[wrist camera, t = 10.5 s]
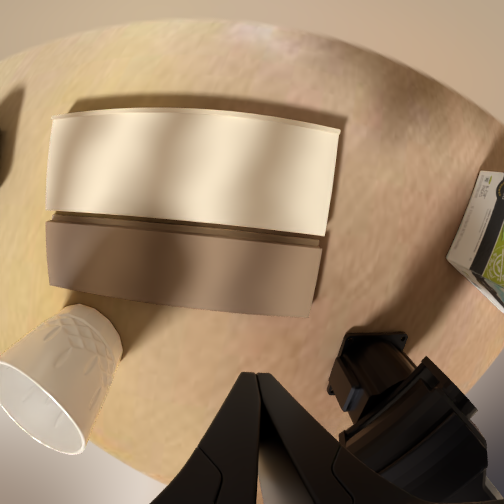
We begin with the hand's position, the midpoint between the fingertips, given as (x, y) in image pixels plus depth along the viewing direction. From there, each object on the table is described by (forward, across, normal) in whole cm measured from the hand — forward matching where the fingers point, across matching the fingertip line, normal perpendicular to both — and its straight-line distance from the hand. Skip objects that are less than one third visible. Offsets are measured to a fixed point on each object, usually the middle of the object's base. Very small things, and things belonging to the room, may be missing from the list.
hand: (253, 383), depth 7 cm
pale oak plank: (+12, +5, -6) cm, 14 cm away
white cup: (+12, +12, +8) cm, 19 cm away
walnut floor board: (+12, +5, 0) cm, 13 cm away
